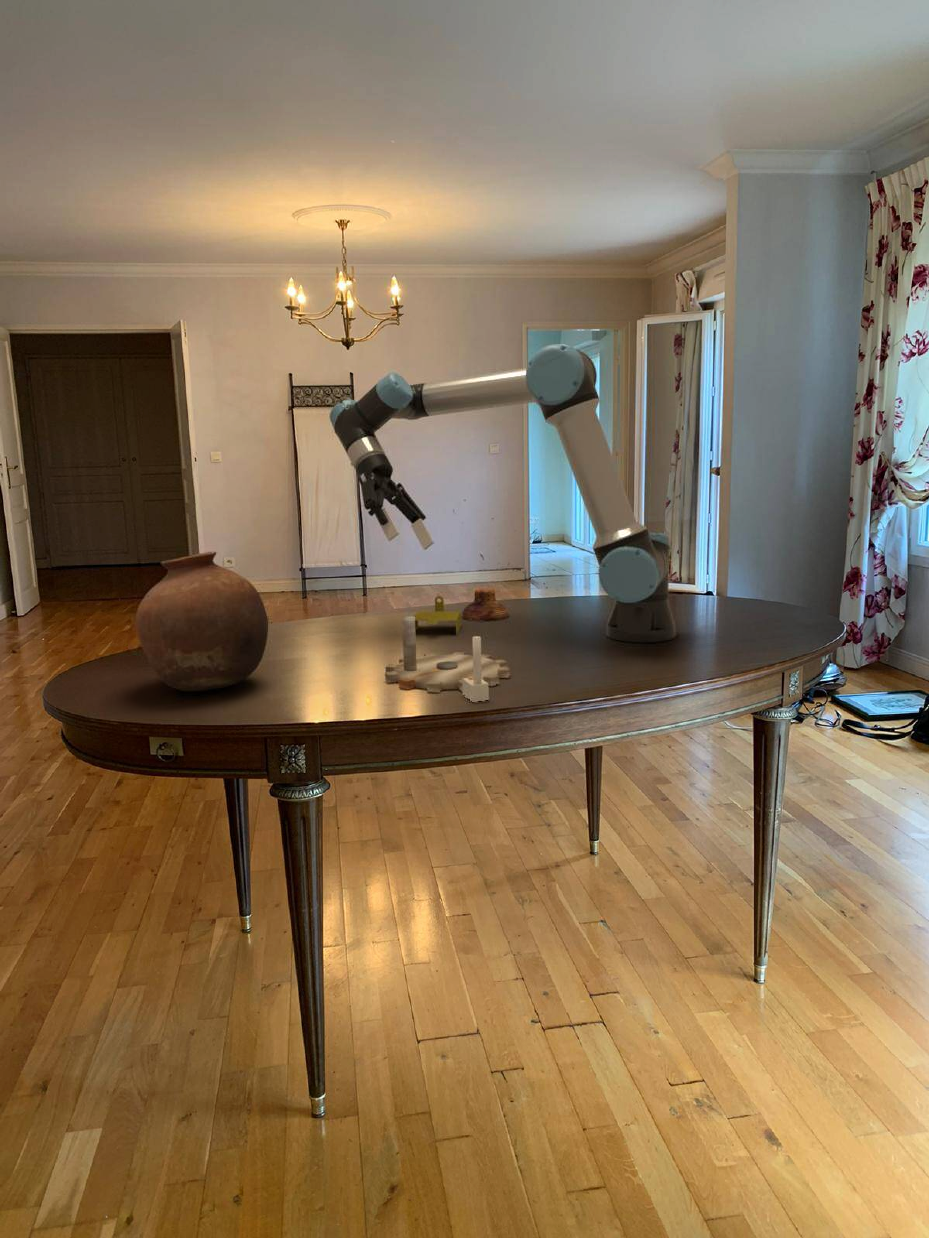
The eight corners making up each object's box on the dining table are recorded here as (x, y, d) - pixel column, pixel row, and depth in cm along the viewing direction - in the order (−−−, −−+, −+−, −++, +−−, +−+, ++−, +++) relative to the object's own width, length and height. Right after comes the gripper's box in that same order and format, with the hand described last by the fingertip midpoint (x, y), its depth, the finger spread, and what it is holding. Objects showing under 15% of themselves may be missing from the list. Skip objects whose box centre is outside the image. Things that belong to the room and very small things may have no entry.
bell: (452, 617, 222) (452, 589, 221) (489, 611, 229) (488, 583, 228) (481, 624, 213) (481, 595, 212) (518, 617, 220) (518, 589, 219)
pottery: (277, 696, 155) (267, 556, 150) (138, 710, 149) (124, 564, 144) (267, 666, 177) (259, 542, 172) (146, 677, 170) (133, 549, 165)
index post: (462, 694, 153) (461, 633, 151) (478, 693, 154) (477, 632, 152) (472, 702, 149) (470, 639, 146) (488, 700, 150) (487, 637, 147)
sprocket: (527, 665, 171) (527, 608, 169) (476, 697, 151) (475, 632, 149) (422, 655, 182) (421, 601, 179) (361, 684, 161) (358, 623, 159)
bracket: (396, 608, 196) (407, 596, 211) (397, 642, 198) (408, 627, 212) (465, 608, 195) (471, 596, 209) (465, 642, 196) (471, 627, 211)
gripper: (390, 484, 204) (430, 559, 197) (322, 461, 182) (364, 543, 176) (414, 465, 201) (454, 539, 194) (348, 438, 180) (391, 521, 173)
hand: (412, 541), depth 185 cm, fingers open, 13 cm apart
